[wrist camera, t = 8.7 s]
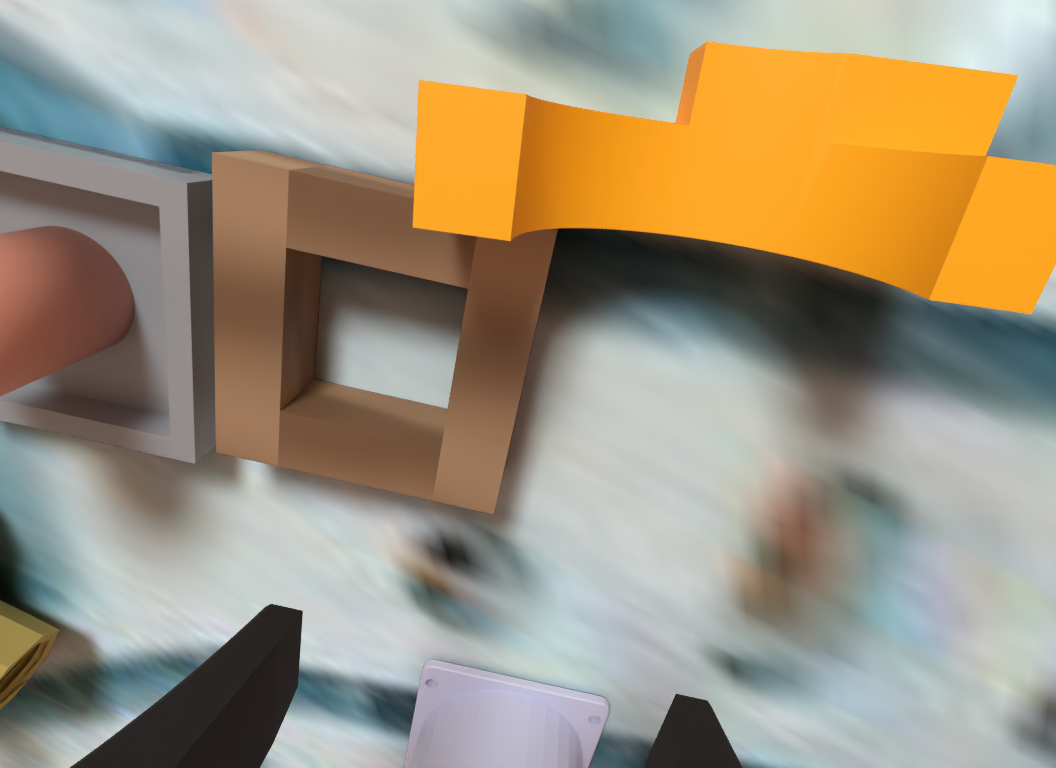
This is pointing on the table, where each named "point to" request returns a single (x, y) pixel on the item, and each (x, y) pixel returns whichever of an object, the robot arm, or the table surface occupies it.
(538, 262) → the square frame
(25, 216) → the tray
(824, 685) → the table surface
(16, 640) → the ball valve
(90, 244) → the plug
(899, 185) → the pipe clamp
